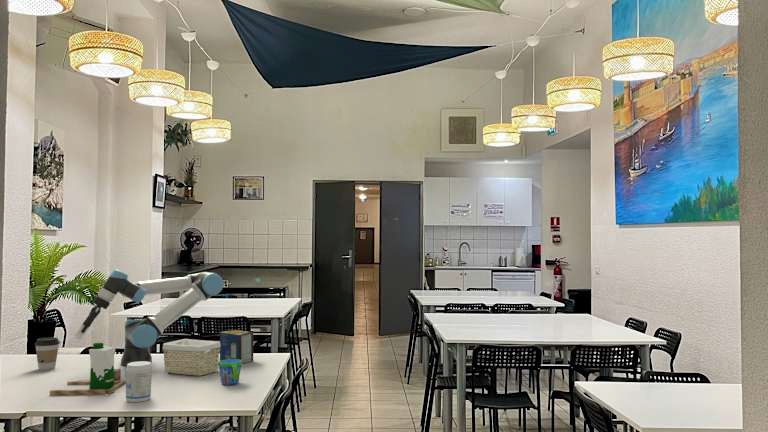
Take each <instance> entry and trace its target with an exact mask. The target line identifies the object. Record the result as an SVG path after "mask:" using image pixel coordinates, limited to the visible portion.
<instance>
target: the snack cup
mask: <svg viewBox="0 0 768 432" xmlns="http://www.w3.org/2000/svg"><path fill="white" fill-rule="evenodd" d="M242 364H243V363H242V360H239V359H227V360H221V361H220V360H219V361H218V369H219V376H220V382H221V385H223V384H224V386H232V385H231V384H234V385H237V384H239V381H240V375H241V369H242Z"/></svg>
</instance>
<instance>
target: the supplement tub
mask: <svg viewBox="0 0 768 432" xmlns="http://www.w3.org/2000/svg"><path fill="white" fill-rule="evenodd" d="M152 368H153V367H152V363H151V362H147V361H138V362H131V363H128V364H127V366H126V370H125V371H126V372H125V373H126V376H125V377H126V378H125V381H126V384H125V400H126V402H128V403H129V402H130V403H142V402H147V401H149V400H150V399H151V398H152Z"/></svg>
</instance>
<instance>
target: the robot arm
mask: <svg viewBox="0 0 768 432" xmlns="http://www.w3.org/2000/svg"><path fill="white" fill-rule="evenodd" d="M128 278H129V275H128V274H127V273H125V272H123V271H121V270H119V269H116V268H115V269H114V270H113V271H112V272H111V274H110V275H109V276H108V277H107V280H106V281H105V282H104V284H103V285H102V287H101V288H99V289H98V293H97V295H96V296H95V297H94V299H93V300H92V303H93V304H95V306H94V307H92V308H91V310H90V311H89V313H88V315H87V317H86V319H85V320H84V321H83V323H82V324H81V325H80V327H79V329H78V331H77V332H76V333H75V337H74V338H75V339H77V340H80V341H81V340H82V339H83V337H84V336H85V334H86V333H87V331H88V330H89V328H90V327H91V326H92V323H93V322H94V320H95V319H96V318H97V317H98V315H100V313H101V309H104V310H107V309H108V307H109V306H110V304H111V303H112V302H113V300H114V299H115V297H116V296H117V294H118V293H119V294H121V296H123V297H124V298H126V299H127V298H128V299H130V301H133V302H135V303H141V301H143V300H144V299H145V296H149V295H150V296H151V295H160V294H170V293H176V292H177V293H178V292H184V293H183V294H181V295H180V296H178V297H177V298H176V299H175V300H173V301H171V303H170V304H168V305H167V306H165V307H164V308H162V309H161V310H160V311H159V312H157V313H156V314H154V315H153V316H147V317H146V318H140V319H139V318H138V319H127V320H126V321H125V323H124V351H123V353H122V356H121V360H120V365H121V366H124V367H125V366H126V367H127V364H128V363H131V362H138V361H147V362H151V364H152V362H153V357H152V354H151V351H150V347H151V346H154V344H155V343H156V342H157V339H159V338H160V337H161V336H162V335H163V334H164V333H163V332H164V330H165V329H166V328H168V327H169V326H170V325H172V324H173V323H174V322H175V321H177V320H178V319H179V318H180V317H182V316H184V314H185V313H187V312H189V311H190V310H191V309H192V308H193V307H195V306H196V305H197V304H198V303H200V302H202V301H203V302H205V301H207V300H208V299H209V298H211V297H212V296H216V295H218V294H219V293H221V292H222V290H223V287H224V280H223V278H222V276H221V275H220V274H218V273H216V272H210V271H209V272H208V271H202V272H198V273H192V274H186V276H183V277H182V276H181V277H171V278H162V279H152V280H151V279H150V280H143V281H142V280H141V281H133V282H132V281H130V280H129V279H128Z"/></svg>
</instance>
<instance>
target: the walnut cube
mask: <svg viewBox="0 0 768 432" xmlns="http://www.w3.org/2000/svg"><path fill="white" fill-rule="evenodd" d="M121 373H122V370H121V368H114V381H120V380H122V379H121V378H122V377H121Z"/></svg>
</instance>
